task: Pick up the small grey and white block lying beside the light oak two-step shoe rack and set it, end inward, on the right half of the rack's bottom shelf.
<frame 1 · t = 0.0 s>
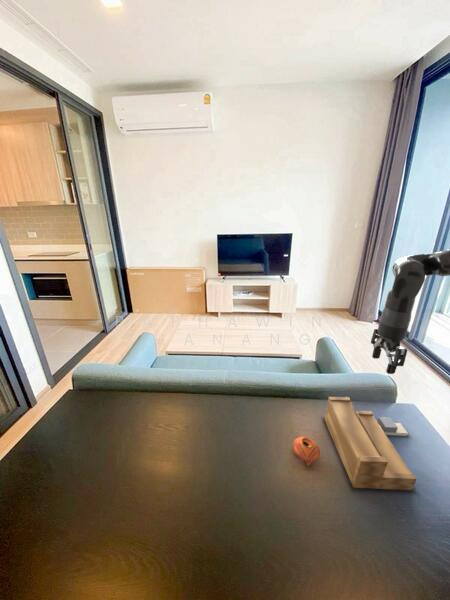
hand: (382, 365, 82), 23 cm above the table, tool pointing down, fingers open, 8 cm apart
grey and white block: (391, 430, 86), on the table
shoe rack: (358, 449, 79), on the table
pot: (304, 456, 76), on the table
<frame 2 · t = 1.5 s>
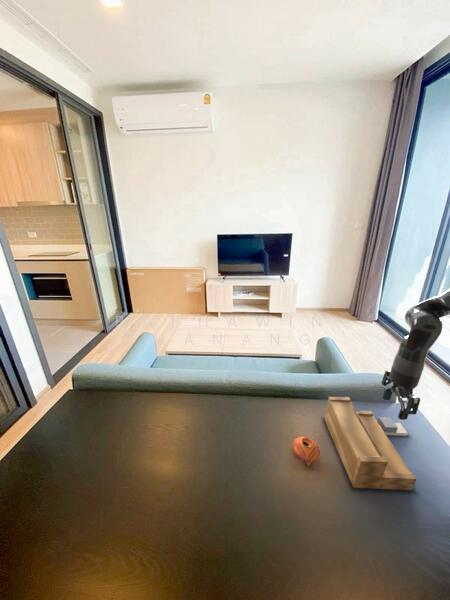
hand: (393, 408, 82), 10 cm above the table, tool pointing down, fingers open, 8 cm apart
nothing on the table moved.
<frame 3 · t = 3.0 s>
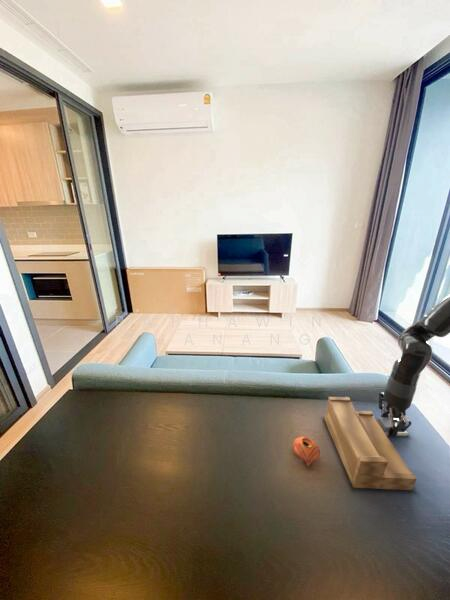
hand: (387, 428, 85), 1 cm above the table, tool pointing down, fingers closed on grey and white block, 4 cm apart
grey and white block: (391, 430, 85), on the table, touching gripper
everything else where it was.
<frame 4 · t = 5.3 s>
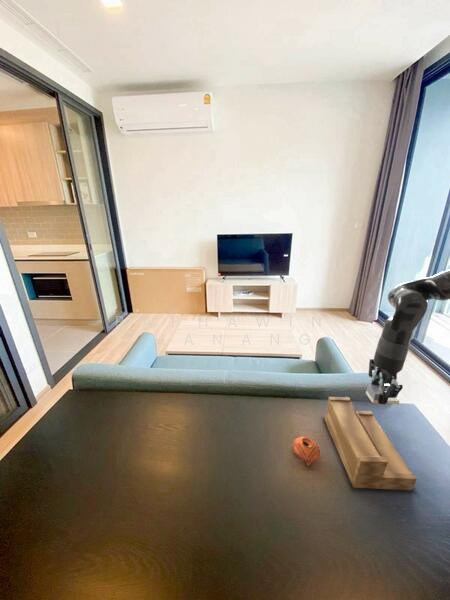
hand: (377, 397, 79), 16 cm above the table, tool pointing down, fingers closed on grey and white block, 4 cm apart
grey and white block: (381, 398, 79), point 15 cm above the table, touching gripper
everything else where it was.
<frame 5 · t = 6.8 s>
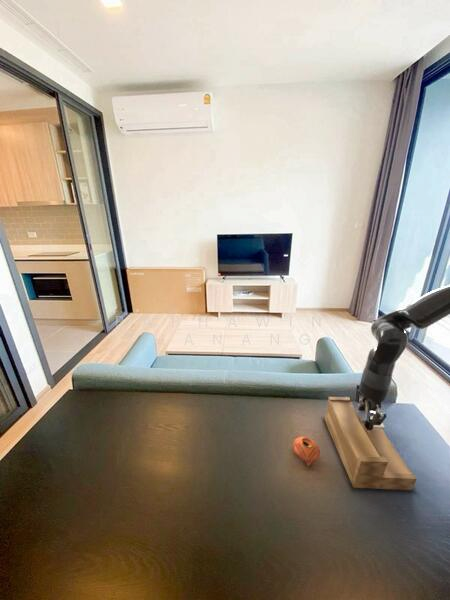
hand: (364, 422, 81), 6 cm above the table, tool pointing down, fingers closed on grey and white block, 4 cm apart
grey and white block: (368, 423, 81), point 6 cm above the table, touching gripper
everything else where it was.
when the fingers open (5 cm above the table, at t = 7.7 s): grey and white block stays where it is, resting on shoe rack.
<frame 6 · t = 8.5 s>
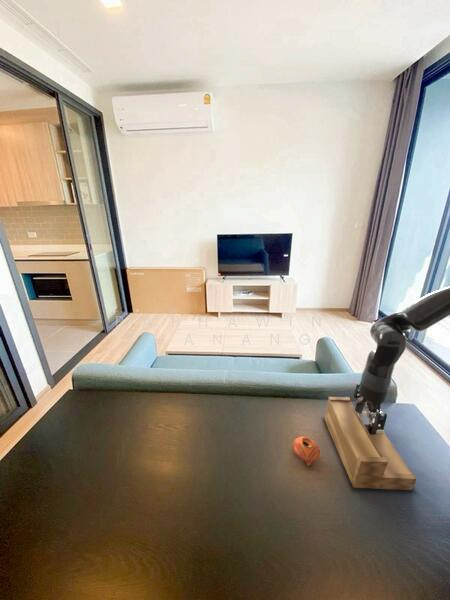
hand: (364, 422, 81), 6 cm above the table, tool pointing down, fingers open, 8 cm apart
grey and white block: (367, 427, 82), point 4 cm above the table, touching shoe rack
everything else where it was.
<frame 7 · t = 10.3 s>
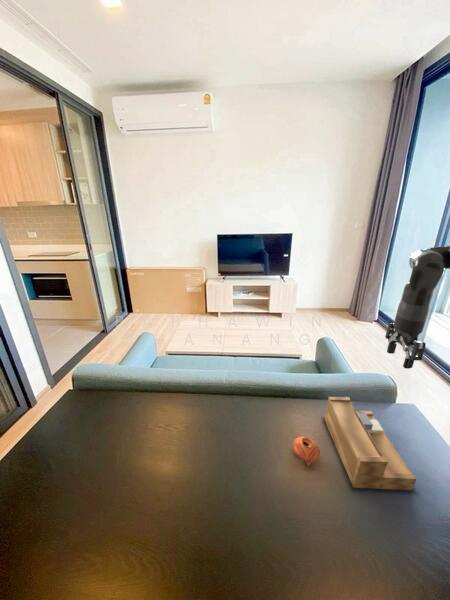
hand: (398, 360, 81), 26 cm above the table, tool pointing down, fingers open, 8 cm apart
nothing on the table moved.
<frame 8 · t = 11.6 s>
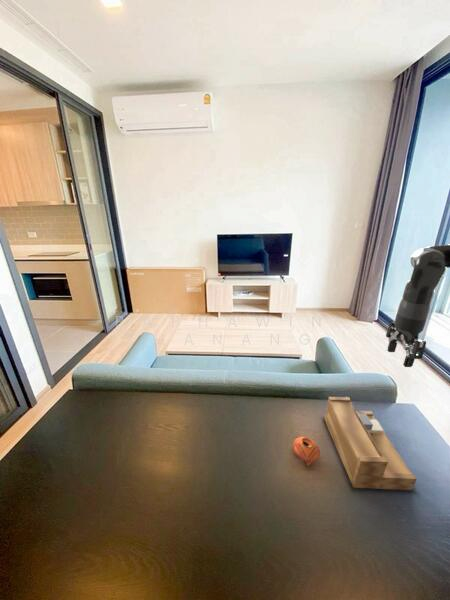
hand: (398, 358, 81), 26 cm above the table, tool pointing down, fingers open, 8 cm apart
nothing on the table moved.
at the end: grey and white block inside the target area on the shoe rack (0.1 cm from its centre), point 4.0 cm above the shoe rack's base; grey and white block tilted 0°; the gripper is holding nothing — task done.
